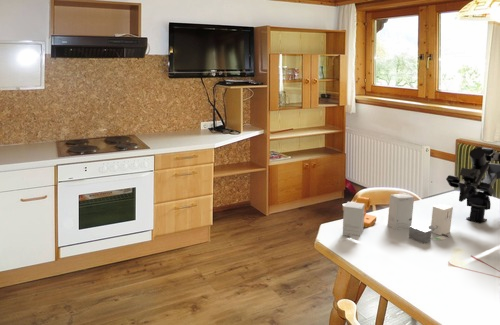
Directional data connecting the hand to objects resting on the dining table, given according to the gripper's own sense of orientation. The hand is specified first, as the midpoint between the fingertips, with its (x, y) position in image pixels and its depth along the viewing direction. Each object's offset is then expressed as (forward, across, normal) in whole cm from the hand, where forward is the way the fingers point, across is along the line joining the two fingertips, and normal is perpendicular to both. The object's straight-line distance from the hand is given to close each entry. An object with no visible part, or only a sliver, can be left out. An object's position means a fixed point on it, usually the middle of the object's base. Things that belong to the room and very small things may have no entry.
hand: (460, 200), depth 187 cm
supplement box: (+38, -21, -20) cm, 48 cm away
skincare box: (+23, -14, -6) cm, 28 cm away
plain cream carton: (+18, +1, -2) cm, 18 cm away
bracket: (+29, -26, -11) cm, 41 cm away
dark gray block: (+27, 0, -11) cm, 29 cm away
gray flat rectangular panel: (+22, 0, -5) cm, 23 cm away
